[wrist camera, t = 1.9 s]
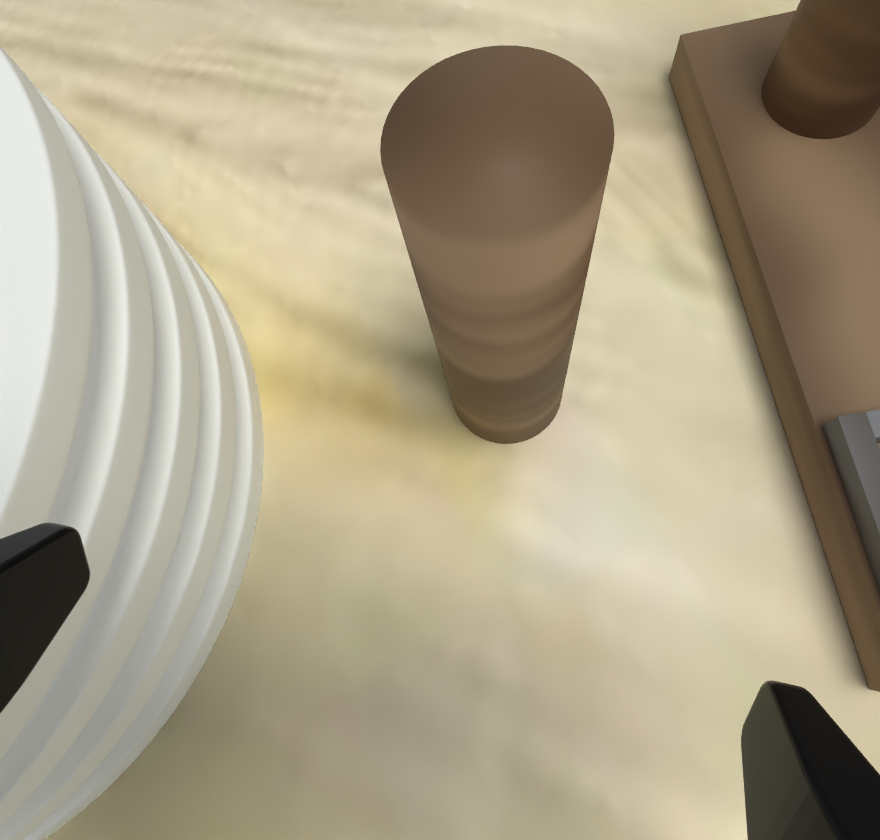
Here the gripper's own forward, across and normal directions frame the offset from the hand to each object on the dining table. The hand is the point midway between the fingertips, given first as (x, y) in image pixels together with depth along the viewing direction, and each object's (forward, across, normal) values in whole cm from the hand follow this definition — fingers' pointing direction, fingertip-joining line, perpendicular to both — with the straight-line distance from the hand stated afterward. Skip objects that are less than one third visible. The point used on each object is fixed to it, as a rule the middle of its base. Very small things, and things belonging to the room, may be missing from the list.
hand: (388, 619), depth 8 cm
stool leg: (+15, 0, +4) cm, 16 cm away
